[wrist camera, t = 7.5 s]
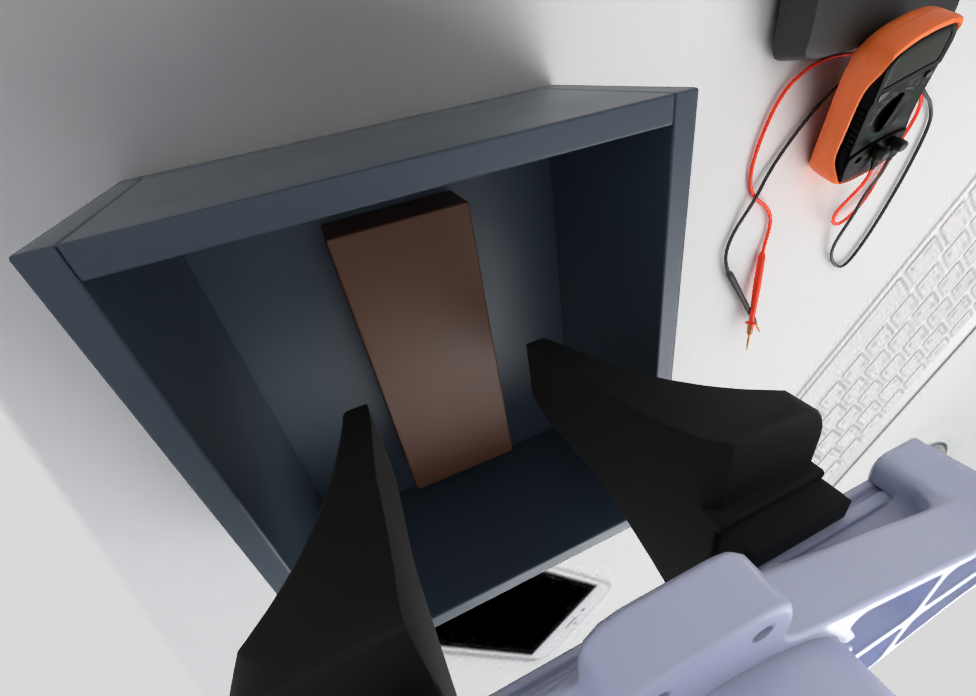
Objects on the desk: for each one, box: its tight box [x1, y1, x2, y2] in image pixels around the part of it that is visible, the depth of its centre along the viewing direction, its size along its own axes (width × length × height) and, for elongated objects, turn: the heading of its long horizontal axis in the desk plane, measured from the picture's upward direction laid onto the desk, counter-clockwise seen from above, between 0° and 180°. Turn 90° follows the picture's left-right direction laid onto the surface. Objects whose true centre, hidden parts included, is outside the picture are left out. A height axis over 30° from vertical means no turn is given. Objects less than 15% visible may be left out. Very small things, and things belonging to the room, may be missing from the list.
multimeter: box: [724, 0, 963, 351], centre depth 19 cm, size 18×12×3 cm, turn 4°
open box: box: [9, 85, 698, 627], centre depth 14 cm, size 12×14×6 cm
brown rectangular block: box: [321, 191, 512, 489], centre depth 15 cm, size 4×10×2 cm, turn 10°
